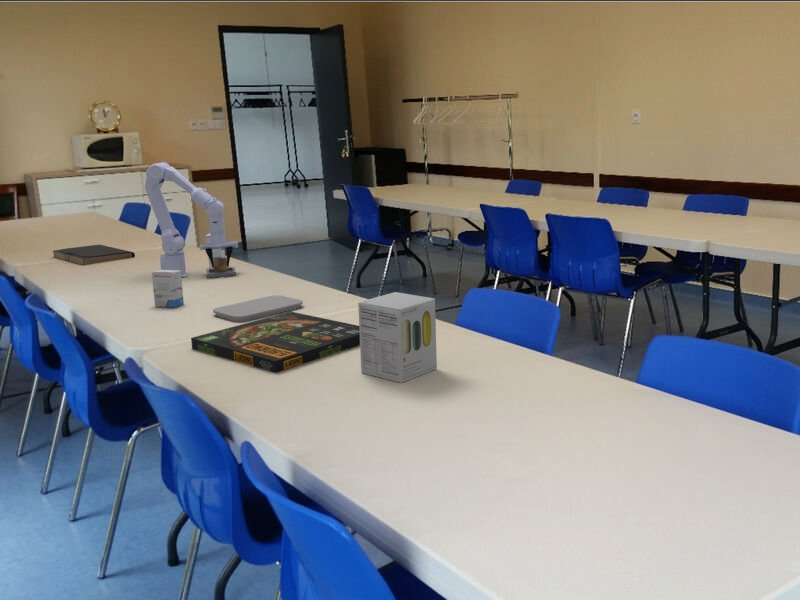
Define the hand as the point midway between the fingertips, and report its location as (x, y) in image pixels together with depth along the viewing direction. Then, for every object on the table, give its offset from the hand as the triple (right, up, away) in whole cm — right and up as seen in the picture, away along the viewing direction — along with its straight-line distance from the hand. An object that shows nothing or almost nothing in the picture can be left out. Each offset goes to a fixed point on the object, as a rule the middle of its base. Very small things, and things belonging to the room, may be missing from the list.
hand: (220, 266), depth 317 cm
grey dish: (0, -3, +1) cm, 3 cm away
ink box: (-6, -15, -48) cm, 50 cm away
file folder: (-69, +6, +52) cm, 87 cm away
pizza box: (+39, -26, -97) cm, 108 cm away
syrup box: (-4, 0, +15) cm, 15 cm away
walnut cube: (0, -2, 0) cm, 2 cm away
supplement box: (+70, -30, -124) cm, 145 cm away
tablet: (+25, -17, -59) cm, 67 cm away
